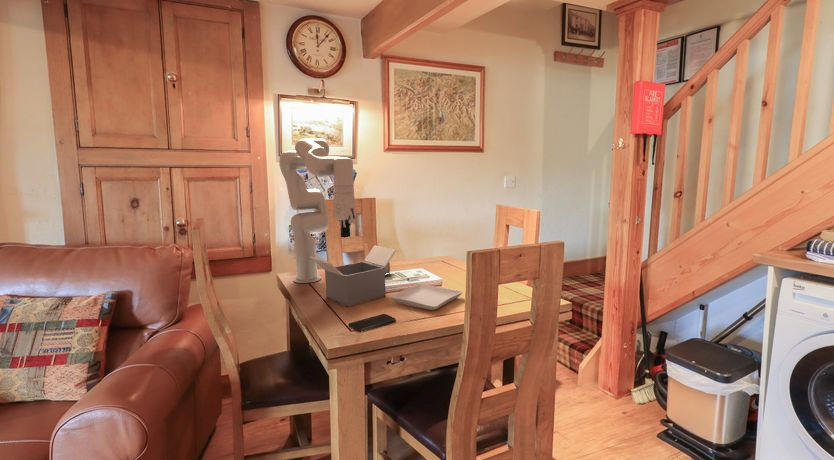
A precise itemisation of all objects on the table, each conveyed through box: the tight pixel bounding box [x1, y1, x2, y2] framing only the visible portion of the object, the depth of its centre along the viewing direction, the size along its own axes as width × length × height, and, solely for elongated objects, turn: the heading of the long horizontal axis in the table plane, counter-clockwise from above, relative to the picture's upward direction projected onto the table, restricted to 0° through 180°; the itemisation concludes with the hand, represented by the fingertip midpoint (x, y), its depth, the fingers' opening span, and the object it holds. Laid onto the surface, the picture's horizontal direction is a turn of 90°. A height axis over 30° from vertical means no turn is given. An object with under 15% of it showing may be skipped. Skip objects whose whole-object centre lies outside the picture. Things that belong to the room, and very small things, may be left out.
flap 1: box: [310, 256, 343, 276], centre depth 168 cm, size 15×8×1 cm
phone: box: [348, 313, 397, 333], centre depth 149 cm, size 8×1×15 cm
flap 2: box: [363, 244, 397, 267], centre depth 184 cm, size 15×8×1 cm
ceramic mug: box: [371, 261, 391, 274], centre depth 213 cm, size 11×8×8 cm
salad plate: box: [389, 284, 463, 311], centre depth 171 cm, size 21×21×3 cm
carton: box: [324, 261, 387, 308], centre depth 178 cm, size 16×18×12 cm
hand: (345, 236), depth 173 cm, fingers closed
